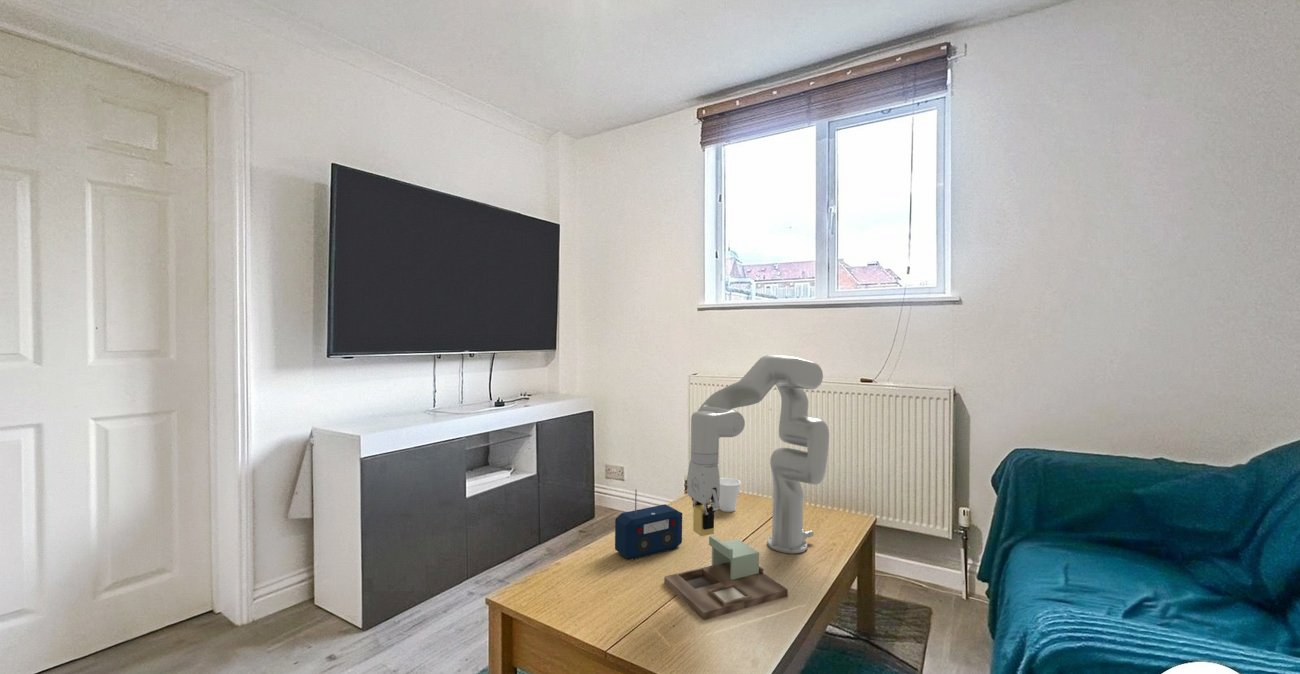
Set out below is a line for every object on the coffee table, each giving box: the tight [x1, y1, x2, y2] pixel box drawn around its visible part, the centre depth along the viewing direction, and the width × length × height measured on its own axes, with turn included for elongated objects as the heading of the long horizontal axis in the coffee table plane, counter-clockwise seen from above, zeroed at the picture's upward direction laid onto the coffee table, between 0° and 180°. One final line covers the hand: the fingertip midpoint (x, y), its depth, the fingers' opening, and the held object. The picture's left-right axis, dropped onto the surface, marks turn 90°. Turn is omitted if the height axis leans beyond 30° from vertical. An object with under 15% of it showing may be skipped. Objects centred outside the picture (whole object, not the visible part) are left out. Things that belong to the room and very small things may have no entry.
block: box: [692, 504, 715, 537], centre depth 140 cm, size 4×4×7 cm
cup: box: [719, 477, 742, 513], centre depth 202 cm, size 10×10×11 cm
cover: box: [708, 535, 760, 580], centre depth 147 cm, size 10×10×8 cm
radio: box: [614, 488, 683, 560], centre depth 164 cm, size 21×9×20 cm, turn 122°
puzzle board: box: [663, 562, 789, 621], centre depth 140 cm, size 26×20×3 cm
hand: (703, 524), depth 140 cm, fingers closed on block, 4 cm apart
